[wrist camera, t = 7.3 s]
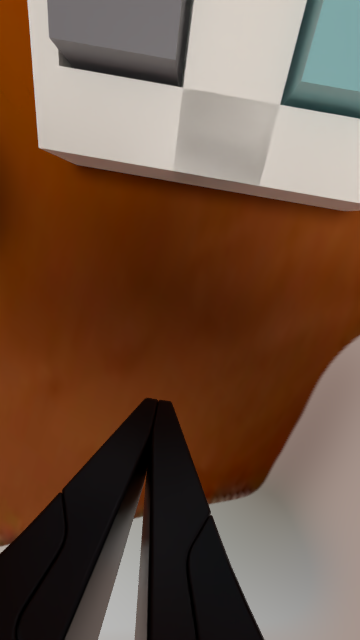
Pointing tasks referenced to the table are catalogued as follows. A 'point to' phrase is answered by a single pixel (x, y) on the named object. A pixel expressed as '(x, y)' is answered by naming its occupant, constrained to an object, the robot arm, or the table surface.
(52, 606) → the robot arm
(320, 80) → the teal key
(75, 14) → the charcoal key
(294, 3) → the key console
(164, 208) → the table surface
